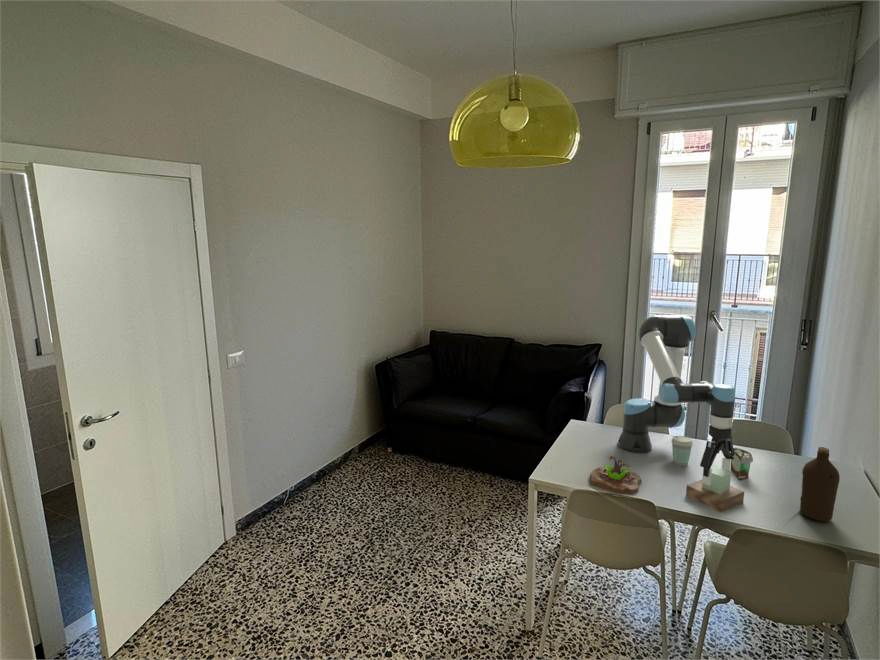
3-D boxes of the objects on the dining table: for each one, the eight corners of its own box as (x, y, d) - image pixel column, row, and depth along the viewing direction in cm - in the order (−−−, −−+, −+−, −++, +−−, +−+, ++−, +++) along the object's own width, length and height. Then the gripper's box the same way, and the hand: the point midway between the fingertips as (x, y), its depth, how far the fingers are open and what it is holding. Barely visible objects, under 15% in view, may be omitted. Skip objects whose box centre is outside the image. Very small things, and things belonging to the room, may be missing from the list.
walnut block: (685, 497, 195) (686, 485, 194) (708, 488, 202) (709, 476, 201) (720, 513, 183) (721, 500, 182) (743, 503, 190) (744, 491, 189)
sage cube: (701, 487, 192) (703, 470, 191) (711, 482, 196) (712, 465, 195) (720, 494, 187) (722, 476, 186) (729, 489, 191) (731, 471, 190)
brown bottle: (840, 517, 179) (849, 450, 175) (824, 525, 174) (833, 457, 170) (807, 504, 188) (814, 440, 184) (791, 511, 183) (799, 446, 179)
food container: (756, 482, 205) (758, 459, 204) (739, 481, 207) (742, 458, 205) (744, 469, 217) (746, 447, 216) (729, 468, 219) (731, 446, 217)
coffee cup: (674, 458, 229) (676, 433, 227) (694, 464, 223) (696, 438, 221) (666, 464, 223) (668, 438, 221) (686, 470, 217) (688, 444, 215)
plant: (596, 468, 221) (597, 444, 219) (643, 478, 211) (645, 453, 209) (584, 486, 204) (585, 460, 202) (635, 498, 194) (637, 471, 192)
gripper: (712, 436, 178) (708, 492, 181) (747, 422, 191) (742, 474, 195) (692, 429, 184) (688, 484, 187) (727, 416, 197) (722, 467, 201)
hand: (715, 479), depth 191 cm, fingers open, 13 cm apart
